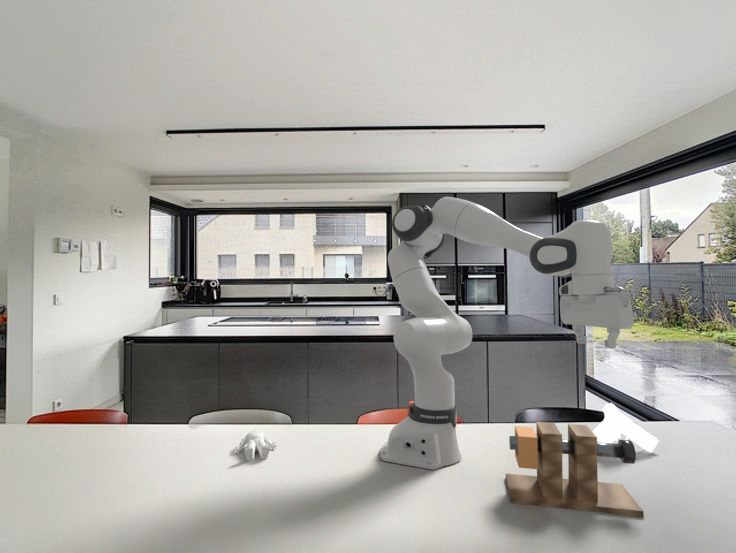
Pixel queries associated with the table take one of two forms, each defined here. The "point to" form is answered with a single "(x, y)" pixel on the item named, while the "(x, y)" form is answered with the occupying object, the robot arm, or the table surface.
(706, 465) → the table surface
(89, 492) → the table surface
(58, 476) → the table surface
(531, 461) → the block
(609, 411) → the handgun
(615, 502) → the threaded rod press
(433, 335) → the robot arm
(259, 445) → the toy creature
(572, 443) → the shaft
